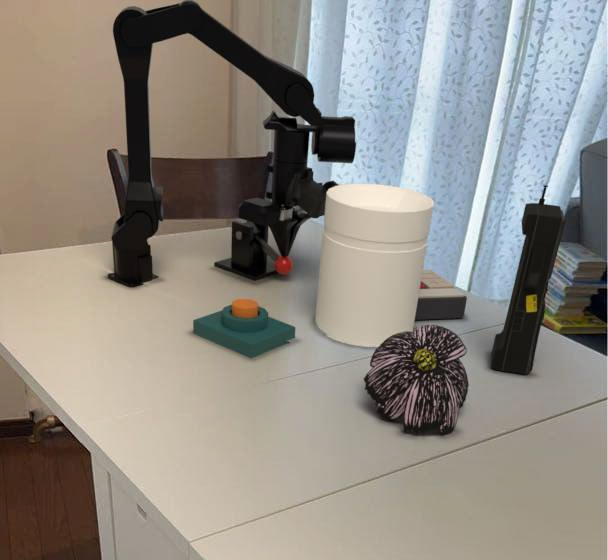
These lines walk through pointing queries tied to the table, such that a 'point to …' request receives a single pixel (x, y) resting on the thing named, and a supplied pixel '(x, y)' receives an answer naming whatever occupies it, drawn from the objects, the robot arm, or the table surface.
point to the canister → (371, 262)
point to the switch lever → (271, 252)
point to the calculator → (438, 298)
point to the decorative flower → (419, 379)
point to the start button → (245, 308)
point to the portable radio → (529, 288)
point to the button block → (244, 331)
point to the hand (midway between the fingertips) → (284, 256)
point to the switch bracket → (247, 253)
